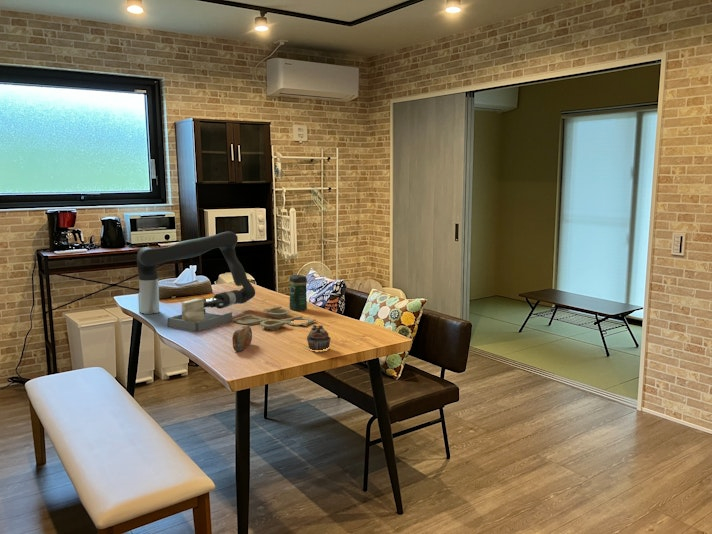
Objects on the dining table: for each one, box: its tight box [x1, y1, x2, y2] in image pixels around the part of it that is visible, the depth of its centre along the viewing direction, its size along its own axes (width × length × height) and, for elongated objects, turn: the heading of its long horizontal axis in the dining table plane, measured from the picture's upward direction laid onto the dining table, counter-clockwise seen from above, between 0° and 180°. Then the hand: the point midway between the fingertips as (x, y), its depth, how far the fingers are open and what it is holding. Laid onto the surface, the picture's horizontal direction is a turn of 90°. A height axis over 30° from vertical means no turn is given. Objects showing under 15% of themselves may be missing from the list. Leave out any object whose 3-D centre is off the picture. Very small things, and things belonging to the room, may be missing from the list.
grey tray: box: [167, 308, 233, 333], centre depth 272 cm, size 18×24×4 cm
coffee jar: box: [288, 274, 308, 312], centre depth 305 cm, size 10×8×19 cm
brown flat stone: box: [232, 325, 253, 352], centre depth 234 cm, size 15×3×8 cm, turn 168°
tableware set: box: [233, 305, 317, 331], centre depth 278 cm, size 35×29×4 cm
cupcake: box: [306, 324, 332, 350], centre depth 233 cm, size 10×10×10 cm
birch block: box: [181, 298, 205, 322], centre depth 267 cm, size 4×10×10 cm, turn 152°
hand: (200, 306), depth 271 cm, fingers closed
